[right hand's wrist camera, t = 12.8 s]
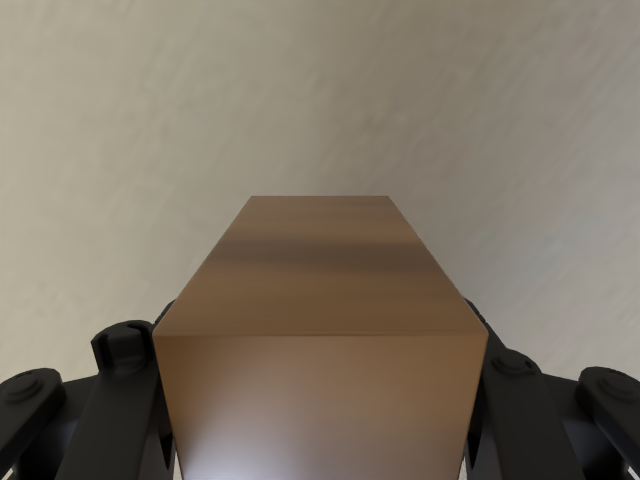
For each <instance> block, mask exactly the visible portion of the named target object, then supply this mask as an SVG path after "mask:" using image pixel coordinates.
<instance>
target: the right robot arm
mask: <svg viewBox="0 0 640 480" xmlns="http://www.w3.org/2000/svg"><path fill="white" fill-rule="evenodd" d="M463 298H464V297H463ZM176 299H177V298H176ZM176 299H175V300H176ZM464 299H465V301H466V302H467V303H468V305H469V306H470V307H471V309H472V310H473V311H474V313H475V314H476V315H477V317H478V318H479V319H480V321H481V322H482V324H483V325H484V326H485V328H486V329H487V330H488V333H489V337H488V341H487V346H486V351H485V356H484V360H483V365H482V370H481V375H480V379H479V384H478V389H477V394H476V398H475V403H474V408H473V412H472V417H471V422H470V427H469V431H468V436H467V441H466V446H465V450H464V455H463V460H462V461H464V456H465V462H466V472H467V480H635V479H634V478H633V477H632V475H631V474H630V473H629V472H628V469H629V467H631V468H632V469H633V470H634V472H635V473H636V474H637V475H638V477H639V478H640V382H639V381H638V380H636V379H634V378H632V377H630V376H628V375H626V374H625V373H622V372H620V371H616V370H614V369H610V368H604V367H597V366H595V367H587V368H585V369H584V370H583V371H581V374H580V377H579V380H578V381H574V380H570V379H565V378H561V377H556V376H551V375H548V374H544V373H542V372H541V370H540V369H539V367H538V366H537V364H536V363H535V362H534V361H532V360H531V359H530V358H529V357H527V356H525V355H523V354H521V353H519V352H517V351H515V350H511V349H507V348H506V347H505V345H504V344H503V343H502V342H501V340H500V339H499V338H498V336H497V335H496V334H495V332H494V331H493V330H492V328H491V327H490V326H489V324H488V323H486V320H485V319H484V318H483V316H482V315H481V314H480V313H479V311H478V310H477V309H476V307H475V306H474V305H473V303H472V302H470V301H469V300H467V299H466V298H464ZM175 300H173V301H172V302H170V303H169V304H168V305H167V306H166V308H165V309H164V310H163V312H162V313H161V316H159V317H158V318H157V320H156V321H155V324H153V325H152V324H151V323H150V322H147V321H143V320H129V321H125V322H121V323H117V324H115V325H112V326H110V327H108V328H105V329H104V330H103V331H101V332H100V333H98V334H97V335H96V336H95V337H94V338H93V339H92V341H91V345H92V349H93V352H94V355H95V359H96V362H97V366H98V369H99V373H98V375H94V376H91V377H86V378H82V379H77V380H73V381H68V382H62V379H61V376H60V373H59V372H57V371H56V370H55V369H50V368H40V369H33V370H29V371H25V372H22V373H20V374H17V375H15V376H14V377H12V378H10V379H8V380H6V381H4V382H2V383H1V384H0V480H2V478H3V477H4V476H5V475H6V473H7V472H8V471H9V470H10V468H12V470H13V473H12V474H11V475H10V476H9V478H8V479H7V480H173V473H174V463H175V453H176V447H175V442H174V438H173V433H172V428H171V423H170V419H169V414H168V409H167V404H166V399H165V395H164V390H163V385H162V380H161V376H160V371H159V366H158V361H157V357H156V352H155V347H154V342H153V337H152V333H153V330H154V329H155V327H156V326H157V325H158V323H159V322H160V321H161V319H162V318H163V317H164V315H165V314H166V312H167V311H168V310H169V308H170V307H171V306H172V304H173V303H174V302H175Z"/></svg>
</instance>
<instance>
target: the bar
mask: <svg viewBox="0 0 640 480" xmlns="http://www.w3.org/2000/svg"><path fill="white" fill-rule="evenodd" d="M152 337H153V342H154V347H155V352H156V357H157V361H158V366H159V371H160V376H161V380H162V385H163V390H164V395H165V399H166V404H167V409H168V414H169V419H170V423H171V428H172V433H173V438H174V442H175V447H176V452H177V457H178V461H179V466H180V471H181V476H182V480H458V479H459V474H460V469H461V465H462V460H463V455H464V450H465V446H466V441H467V436H468V431H469V427H470V422H471V417H472V412H473V408H474V403H475V398H476V394H477V389H478V384H479V379H480V375H481V370H482V365H483V360H484V356H485V351H486V346H487V341H488V337H489V333H488V330H487V329H486V328H485V326H484V325H483V324H482V322H481V321H480V319H479V318H478V317H477V315H476V314H475V313H474V311H473V310H472V309H471V307H470V306H469V305H468V303H467V302H466V301H465V299H464V298H463V296H462V295H461V294H460V292H459V291H458V290H457V288H456V287H455V286H454V284H453V283H452V282H451V280H450V279H449V278H448V276H447V275H446V273H445V272H444V271H443V269H442V268H441V267H440V265H439V264H438V263H437V261H436V260H435V259H434V257H433V256H432V255H431V253H430V252H429V250H428V249H427V248H426V246H425V245H424V244H423V242H422V241H421V240H420V238H419V237H418V236H417V234H416V233H415V232H414V230H413V229H412V227H411V226H410V225H409V223H408V222H407V221H406V219H405V218H404V217H403V215H402V214H401V213H400V211H399V210H398V209H397V207H396V206H395V204H394V203H393V202H392V200H391V199H390V198H389V197H388V196H252V197H251V198H250V199H249V200H248V202H247V203H246V204H245V206H244V207H243V209H242V210H241V211H240V213H239V214H238V215H237V217H236V218H235V220H234V221H233V222H232V224H231V225H230V226H229V228H228V229H227V230H226V232H225V233H224V235H223V236H222V237H221V239H220V240H219V241H218V243H217V244H216V245H215V247H214V248H213V250H212V251H211V252H210V254H209V255H208V256H207V258H206V259H205V261H204V262H203V263H202V265H201V266H200V267H199V269H198V270H197V271H196V273H195V274H194V276H193V277H192V278H191V280H190V281H189V282H188V284H187V285H186V286H185V288H184V289H183V291H182V292H181V293H180V295H179V296H178V297H177V299H176V300H175V302H174V303H173V304H172V306H171V307H170V308H169V310H168V311H167V312H166V314H165V315H164V317H163V318H162V319H161V321H160V322H159V323H158V325H157V326H156V327H155V329H154V330H153V333H152Z"/></svg>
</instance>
